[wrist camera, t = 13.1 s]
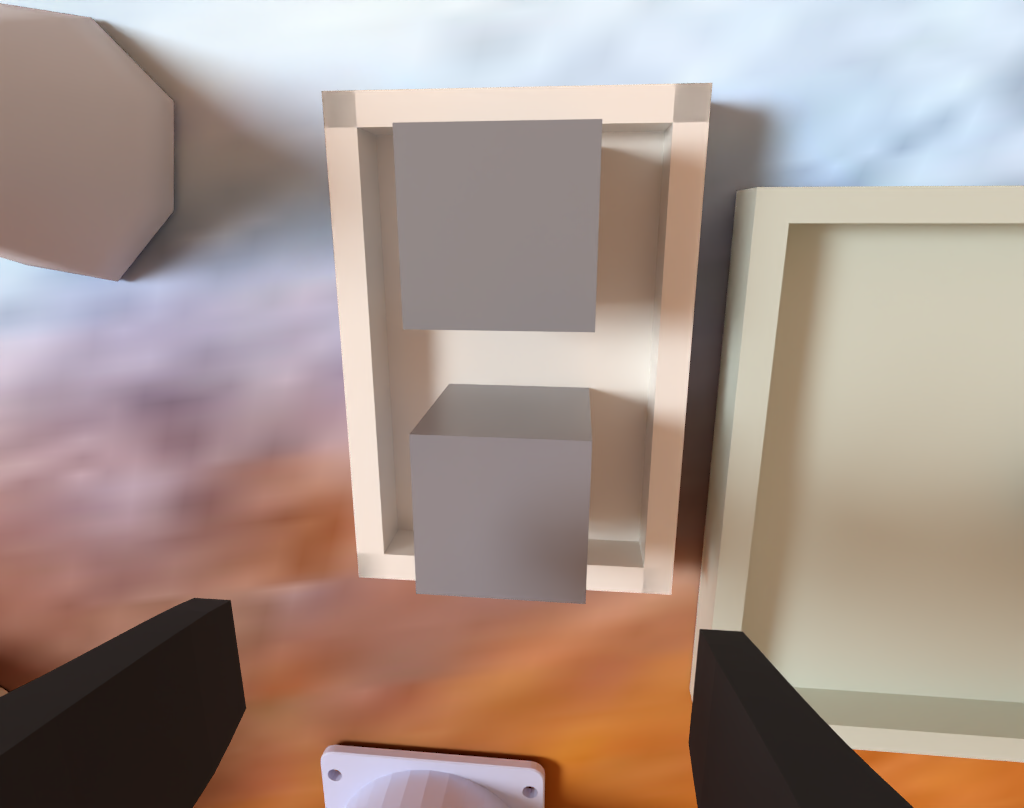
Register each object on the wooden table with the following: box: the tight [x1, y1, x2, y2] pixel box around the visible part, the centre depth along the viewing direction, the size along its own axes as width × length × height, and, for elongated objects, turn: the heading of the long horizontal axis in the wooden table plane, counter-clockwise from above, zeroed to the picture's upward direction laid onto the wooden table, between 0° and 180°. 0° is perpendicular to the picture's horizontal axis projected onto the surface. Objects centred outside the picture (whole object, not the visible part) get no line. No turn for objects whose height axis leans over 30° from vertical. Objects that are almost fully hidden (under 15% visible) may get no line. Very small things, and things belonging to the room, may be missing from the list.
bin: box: [690, 186, 1024, 762], centre depth 17 cm, size 16×13×2 cm
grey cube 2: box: [409, 384, 592, 604], centre depth 16 cm, size 4×4×4 cm
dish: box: [322, 83, 712, 595], centre depth 17 cm, size 13×9×2 cm
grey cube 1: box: [392, 119, 602, 332], centre depth 15 cm, size 4×4×4 cm
